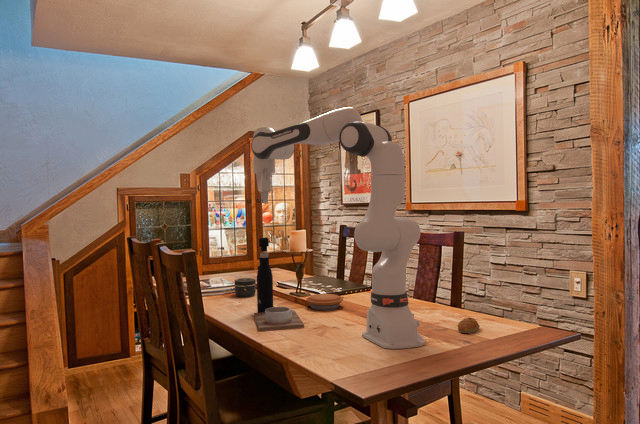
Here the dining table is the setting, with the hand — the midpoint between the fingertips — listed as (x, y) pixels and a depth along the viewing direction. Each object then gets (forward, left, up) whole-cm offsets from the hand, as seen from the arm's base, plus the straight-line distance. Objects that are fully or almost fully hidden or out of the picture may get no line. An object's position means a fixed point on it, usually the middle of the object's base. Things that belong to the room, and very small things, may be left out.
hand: (264, 203), depth 193 cm
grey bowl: (-19, -2, -43) cm, 47 cm away
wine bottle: (0, +1, -44) cm, 44 cm away
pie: (+2, -24, -44) cm, 51 cm away
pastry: (-45, -64, -45) cm, 90 cm away
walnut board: (-16, -2, -44) cm, 47 cm away
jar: (+36, +7, -44) cm, 58 cm away
